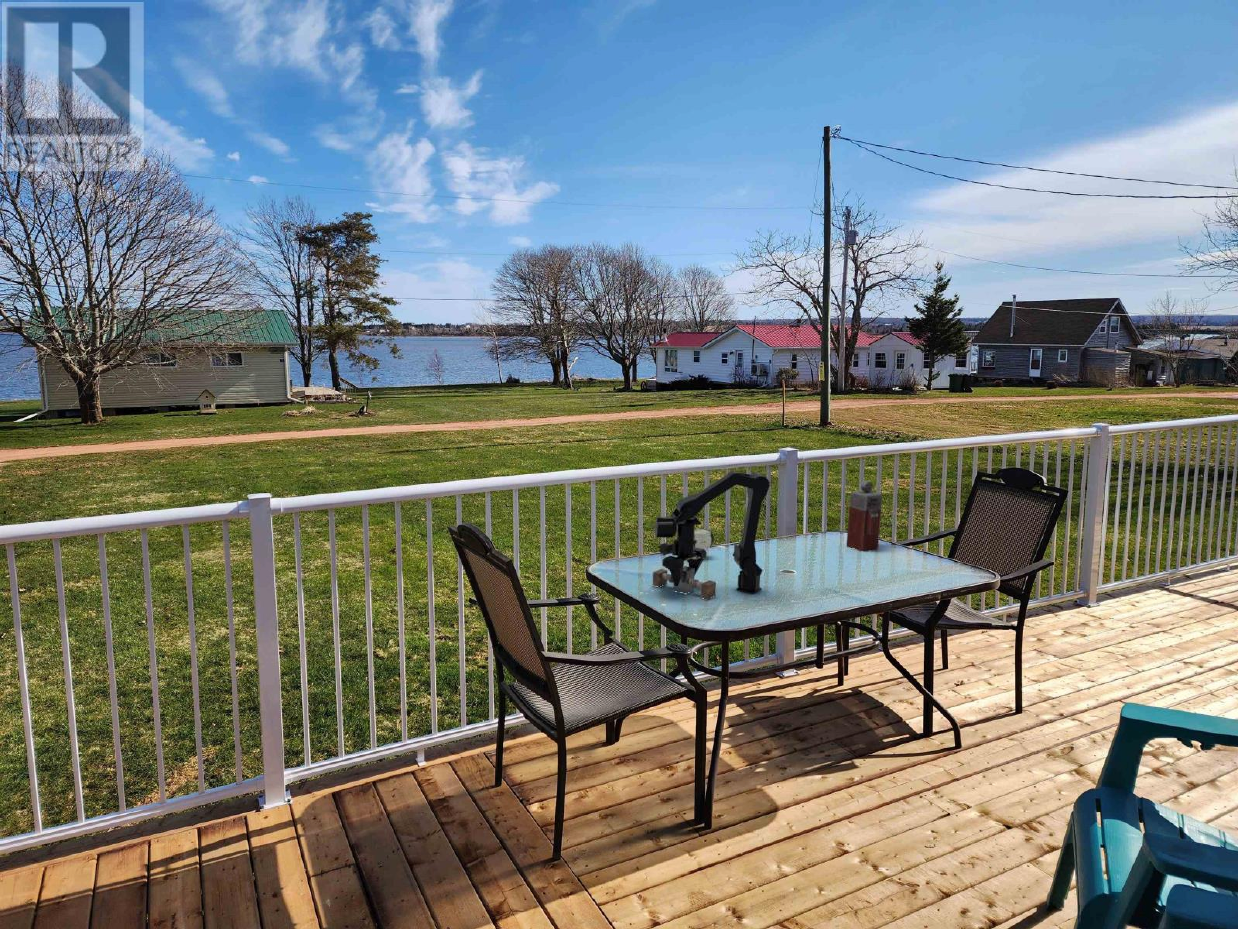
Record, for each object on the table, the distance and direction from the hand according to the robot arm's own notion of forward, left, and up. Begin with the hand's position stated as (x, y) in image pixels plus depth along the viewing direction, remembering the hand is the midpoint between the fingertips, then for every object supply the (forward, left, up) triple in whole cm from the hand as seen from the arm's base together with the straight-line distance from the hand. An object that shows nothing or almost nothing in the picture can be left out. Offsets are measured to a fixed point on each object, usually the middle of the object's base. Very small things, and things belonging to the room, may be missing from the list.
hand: (683, 582), depth 256 cm
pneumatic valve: (+16, -36, -3) cm, 40 cm away
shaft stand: (0, 0, -3) cm, 3 cm away
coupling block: (0, 0, -3) cm, 3 cm away
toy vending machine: (-27, -96, -3) cm, 100 cm away
